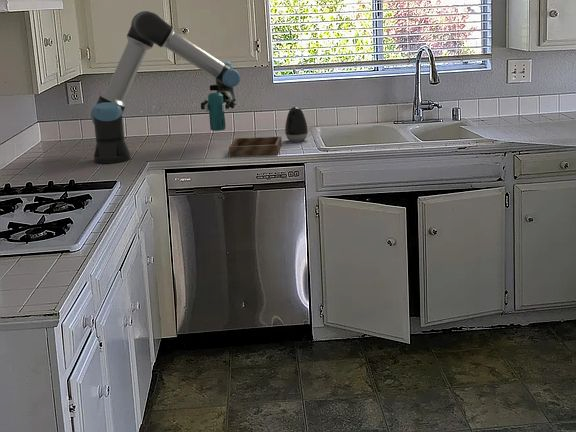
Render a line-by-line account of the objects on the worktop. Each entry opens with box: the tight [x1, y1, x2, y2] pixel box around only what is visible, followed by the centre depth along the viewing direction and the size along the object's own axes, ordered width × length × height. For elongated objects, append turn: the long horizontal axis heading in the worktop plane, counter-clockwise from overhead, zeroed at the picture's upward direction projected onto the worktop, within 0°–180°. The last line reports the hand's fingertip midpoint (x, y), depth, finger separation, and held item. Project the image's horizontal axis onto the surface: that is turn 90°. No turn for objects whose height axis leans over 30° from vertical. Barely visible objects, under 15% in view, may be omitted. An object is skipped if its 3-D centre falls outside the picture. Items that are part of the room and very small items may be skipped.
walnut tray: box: [228, 136, 283, 158], centre depth 365 cm, size 20×20×4 cm
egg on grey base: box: [284, 106, 309, 143], centre depth 381 cm, size 10×10×15 cm
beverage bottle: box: [207, 84, 227, 132], centre depth 356 cm, size 6×7×20 cm
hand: (214, 108), depth 351 cm, fingers closed on beverage bottle, 6 cm apart
